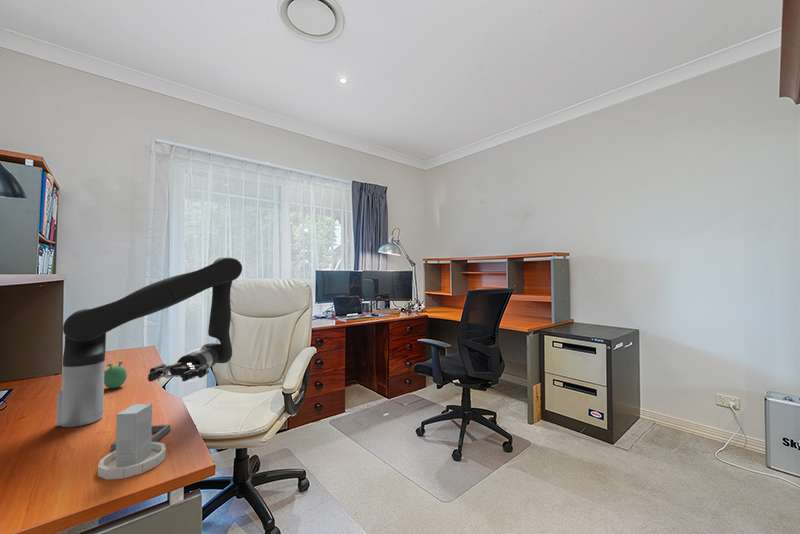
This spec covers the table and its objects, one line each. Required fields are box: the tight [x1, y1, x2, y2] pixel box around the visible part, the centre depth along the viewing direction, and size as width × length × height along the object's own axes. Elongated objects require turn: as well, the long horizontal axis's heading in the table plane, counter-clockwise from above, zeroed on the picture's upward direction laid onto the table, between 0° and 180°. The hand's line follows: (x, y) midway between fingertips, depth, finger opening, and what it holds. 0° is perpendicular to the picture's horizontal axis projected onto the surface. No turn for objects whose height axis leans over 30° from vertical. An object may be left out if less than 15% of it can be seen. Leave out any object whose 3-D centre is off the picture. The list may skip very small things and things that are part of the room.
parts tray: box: [110, 424, 171, 452], centre depth 88 cm, size 8×10×2 cm
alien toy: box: [104, 360, 127, 390], centre depth 130 cm, size 7×8×10 cm
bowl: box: [97, 441, 167, 480], centre depth 77 cm, size 12×12×2 cm
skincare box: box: [115, 403, 153, 467], centre depth 77 cm, size 6×4×12 cm
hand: (166, 377), depth 91 cm, fingers open, 8 cm apart
